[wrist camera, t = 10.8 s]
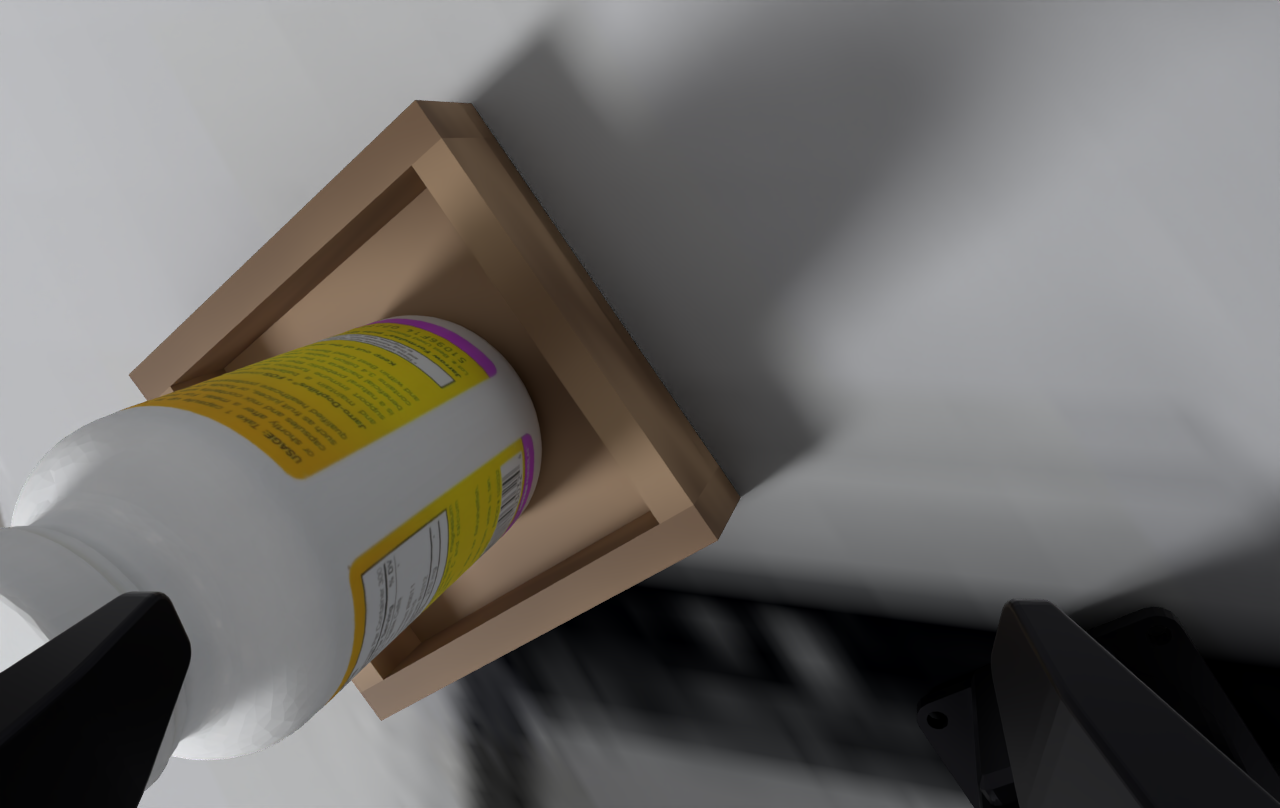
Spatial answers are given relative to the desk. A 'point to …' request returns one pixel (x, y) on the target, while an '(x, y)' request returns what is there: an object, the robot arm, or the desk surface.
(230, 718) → the supplement bottle
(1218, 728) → the robot arm
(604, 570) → the walnut tray
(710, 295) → the desk surface
